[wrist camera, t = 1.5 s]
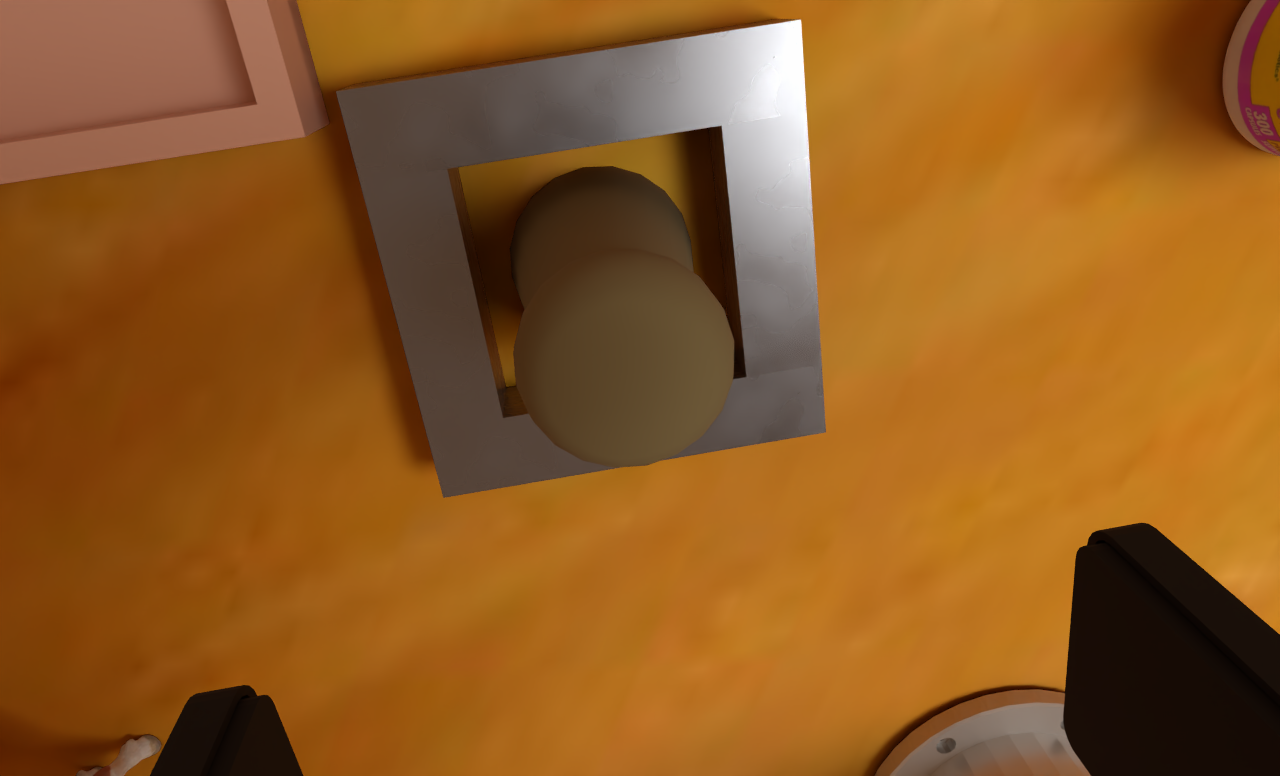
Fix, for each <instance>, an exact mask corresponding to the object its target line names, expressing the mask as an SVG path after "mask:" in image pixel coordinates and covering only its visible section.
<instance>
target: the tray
mask: <svg viewBox="0 0 1280 776" xmlns="http://www.w3.org/2000/svg"><path fill="white" fill-rule="evenodd" d="M328 124H330V123H329V119H328V115H327V112H326V108H325V104H324V101H323V97H322V93H321V90H320V86H319V82H318V79H317V75H316V71H315V68H314V64H313V60H312V56H311V53H310V49H309V45H308V42H307V38H306V34H305V31H304V27H303V23H302V20H301V16H300V12H299V9H298V5H297V1H296V0H0V184H6V183H12V182H19V181H25V180H31V179H38V178H44V177H51V176H57V175H63V174H70V173H76V172H83V171H89V170H96V169H102V168H108V167H115V166H121V165H128V164H134V163H140V162H147V161H153V160H160V159H166V158H172V157H179V156H185V155H192V154H198V153H205V152H211V151H217V150H224V149H230V148H237V147H243V146H249V145H256V144H262V143H269V142H275V141H282V140H288V139H294V138H301V137H306V136H308V135H310V134H312V133H313V132H315V131H317V130H319V129H321V128H323V127H325V126H326V125H328Z"/></svg>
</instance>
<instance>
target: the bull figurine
mask: <svg viewBox="0 0 1280 776" xmlns="http://www.w3.org/2000/svg"><path fill="white" fill-rule="evenodd" d="M160 748H161V743H160V741H159V740H158V739H157V738H156V737H154V736H152V735H143V736H141V737H140V738H139V739H138V740H133V739H129V740H128V741H127V742H126V744H124V745H123V746H122V747H121V749H120V753H119V755H118V757H117V758H116V759H115V761H114V762H112V763H111V764H110V765H108V766H106V767H104V768H101V767H94V768H93V769H92V770H90V771H84V770H80V771H78V773H77V774H76V776H124V775H125V773H126V772H127V771H128V770H129V769H130V768H132V767H133V766H135V765H136V764H137V763H139V762H140V761H141V760H142V759H144V758H147V757H150V756H152V755H154V754H156V753H157V752H158V751H159V750H160Z"/></svg>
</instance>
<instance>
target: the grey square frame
mask: <svg viewBox="0 0 1280 776" xmlns="http://www.w3.org/2000/svg"><path fill="white" fill-rule="evenodd" d="M336 94H337V98H338V102H339V105H340V109H341V113H342V117H343V120H344V124H345V128H346V132H347V135H348V139H349V143H350V147H351V151H352V154H353V158H354V162H355V166H356V169H357V173H358V177H359V181H360V185H361V188H362V192H363V196H364V200H365V203H366V207H367V211H368V215H369V218H370V222H371V226H372V230H373V234H374V237H375V241H376V245H377V249H378V252H379V256H380V260H381V264H382V268H383V271H384V275H385V279H386V283H387V286H388V290H389V294H390V298H391V301H392V305H393V309H394V313H395V317H396V320H397V324H398V328H399V332H400V335H401V339H402V343H403V347H404V351H405V354H406V358H407V362H408V366H409V369H410V373H411V377H412V381H413V384H414V388H415V392H416V396H417V400H418V403H419V407H420V411H421V415H422V418H423V422H424V426H425V430H426V434H427V437H428V441H429V445H430V449H431V452H432V456H433V460H434V464H435V467H436V471H437V475H438V479H439V483H440V486H441V490H442V494H443V498H445V497H450V496H456V495H462V494H468V493H474V492H480V491H485V490H491V489H497V488H503V487H509V486H515V485H521V484H526V483H532V482H538V481H544V480H550V479H556V478H561V477H567V476H573V475H579V474H585V473H591V472H596V471H602V470H608V469H614V467H609V466H605V465H600V464H596V463H591V462H586V461H582V460H581V459H579V458H577V457H575V456H574V455H572V454H570V453H568V452H566V451H565V450H563V449H561V448H559V447H557V446H556V445H555V444H554V443H553V442H552V441H551V440H550V439H549V438H548V437H547V436H546V435H545V434H544V433H543V432H542V431H541V429H540V428H539V427H538V426H537V425H536V424H535V423H534V422H533V420H532V419H531V417H530V415H529V413H528V411H527V409H526V406H525V404H524V402H523V400H522V398H521V395H520V393H519V391H518V389H517V386H514V387H508V388H506V385H505V381H504V376H503V372H502V367H501V363H500V358H499V353H498V349H497V344H496V340H495V335H494V331H493V326H492V322H491V317H490V312H489V308H488V303H487V299H486V294H485V290H484V285H483V280H482V276H481V271H480V267H479V262H478V258H477V253H476V249H475V244H474V239H473V235H472V230H471V226H470V221H469V217H468V212H467V207H466V203H465V198H464V194H463V189H462V185H461V180H460V176H459V171H458V167H462V166H468V165H475V164H481V163H487V162H494V161H500V160H506V159H513V158H519V157H525V156H532V155H538V154H544V153H551V152H557V151H563V150H570V149H576V148H582V147H589V146H595V145H601V144H608V143H614V142H620V141H626V140H633V139H639V138H645V137H652V136H658V135H664V134H671V133H677V132H683V131H690V130H696V129H702V128H709V138H710V147H711V157H712V166H713V176H714V185H715V195H716V205H717V214H718V224H719V233H720V243H721V253H722V262H723V272H724V281H725V291H726V300H727V310H728V320H729V326H730V329H731V332H732V335H733V338H734V374H733V382H732V385H731V387H730V390H729V393H728V396H727V398H726V401H725V404H724V407H723V410H722V411H721V413H720V414H719V415H718V417H717V418H716V419H715V421H714V422H713V423H712V425H711V426H710V427H709V428H708V430H707V431H706V432H705V434H704V435H703V436H702V437H700V438H699V439H698V440H696V441H695V442H694V443H692V444H691V445H689V446H688V447H687V448H685V449H684V450H682V451H681V452H680V453H678V454H677V455H674V456H671V457H669V458H666V459H663V460H667V459H672V458H678V457H684V456H690V455H696V454H702V453H707V452H713V451H719V450H725V449H731V448H737V447H743V446H748V445H754V444H760V443H766V442H772V441H778V440H783V439H789V438H795V437H801V436H807V435H813V434H818V433H824V432H826V428H825V412H824V395H823V379H822V362H821V346H820V329H819V313H818V296H817V280H816V263H815V247H814V230H813V214H812V197H811V181H810V164H809V148H808V131H807V115H806V98H805V82H804V65H803V49H802V32H801V20H795V19H775V20H768V21H762V22H755V23H749V24H742V25H736V26H729V27H723V28H716V29H710V30H703V31H697V32H690V33H684V34H677V35H671V36H664V37H658V38H651V39H645V40H638V41H632V42H625V43H619V44H612V45H606V46H599V47H593V48H586V49H580V50H573V51H567V52H560V53H554V54H547V55H541V56H534V57H528V58H521V59H515V60H508V61H502V62H495V63H489V64H482V65H476V66H469V67H463V68H456V69H450V70H443V71H437V72H431V73H424V74H418V75H411V76H405V77H398V78H392V79H385V80H379V81H372V82H366V83H359V84H353V85H351V86H348V87H346V88H343V89H341V90H338V91H336ZM660 461H661V460H660ZM616 468H620V467H616Z"/></svg>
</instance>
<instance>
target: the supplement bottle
mask: <svg viewBox="0 0 1280 776" xmlns="http://www.w3.org/2000/svg"><path fill="white" fill-rule="evenodd" d="M1223 95H1224V100H1225V105H1226V108H1227V111H1228V114H1229V116H1230V118H1231V120H1232V122H1233V124H1234V126H1235V127H1236V129H1237V130H1238V131H1239V132H1240V134H1241V135H1242V136H1243V137H1244V138H1245V139H1246V140H1248V141H1249V142H1250V143H1251V144H1253V145H1254V146H1256V147H1258V148H1259V149H1261V150H1263V151H1265V152H1268V153H1270V154H1273V155H1277V156H1280V0H1251V1H1250V2H1249V4H1248V5H1247V7H1246V8H1245V10H1244V11H1243V13H1242V15H1241V17H1240V19H1239V21H1238V22H1237V24H1236V27H1235V29H1234V31H1233V34H1232V37H1231V39H1230V42H1229V45H1228V49H1227V52H1226V56H1225V62H1224V67H1223Z"/></svg>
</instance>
